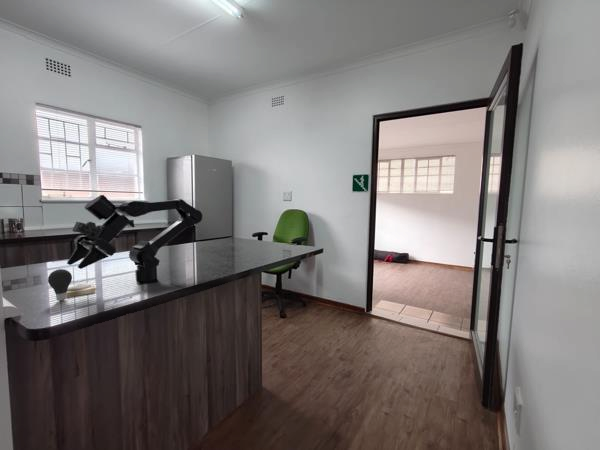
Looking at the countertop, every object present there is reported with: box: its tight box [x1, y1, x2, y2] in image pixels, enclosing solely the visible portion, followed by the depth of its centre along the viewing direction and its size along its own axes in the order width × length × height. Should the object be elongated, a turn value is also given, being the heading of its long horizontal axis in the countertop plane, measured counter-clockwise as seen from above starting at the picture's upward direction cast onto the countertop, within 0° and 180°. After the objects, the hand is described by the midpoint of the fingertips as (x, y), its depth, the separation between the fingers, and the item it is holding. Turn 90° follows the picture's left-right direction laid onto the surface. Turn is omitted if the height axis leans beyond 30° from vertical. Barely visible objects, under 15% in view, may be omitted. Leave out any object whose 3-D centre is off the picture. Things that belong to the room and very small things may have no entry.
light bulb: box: [47, 268, 73, 303], centre depth 85 cm, size 6×6×10 cm
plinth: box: [66, 282, 96, 298], centre depth 94 cm, size 9×9×2 cm
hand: (73, 266), depth 87 cm, fingers open, 9 cm apart
